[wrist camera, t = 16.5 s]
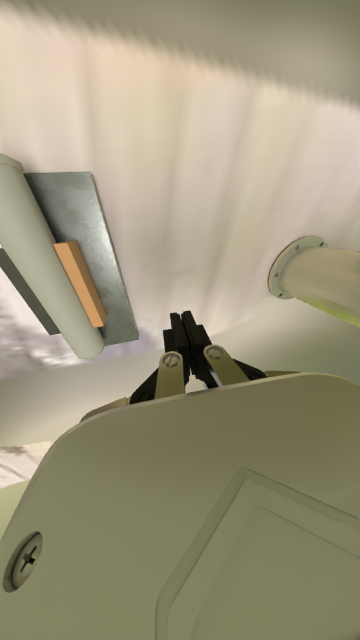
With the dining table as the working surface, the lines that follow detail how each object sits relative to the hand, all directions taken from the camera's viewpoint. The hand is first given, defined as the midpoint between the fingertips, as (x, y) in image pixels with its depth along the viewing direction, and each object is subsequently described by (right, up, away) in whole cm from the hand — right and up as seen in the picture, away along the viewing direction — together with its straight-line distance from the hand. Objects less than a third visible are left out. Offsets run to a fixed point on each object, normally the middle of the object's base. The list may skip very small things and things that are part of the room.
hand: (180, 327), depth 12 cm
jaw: (-14, +6, +10) cm, 19 cm away
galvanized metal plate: (-16, +7, +11) cm, 21 cm away
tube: (-17, +6, +10) cm, 21 cm away
